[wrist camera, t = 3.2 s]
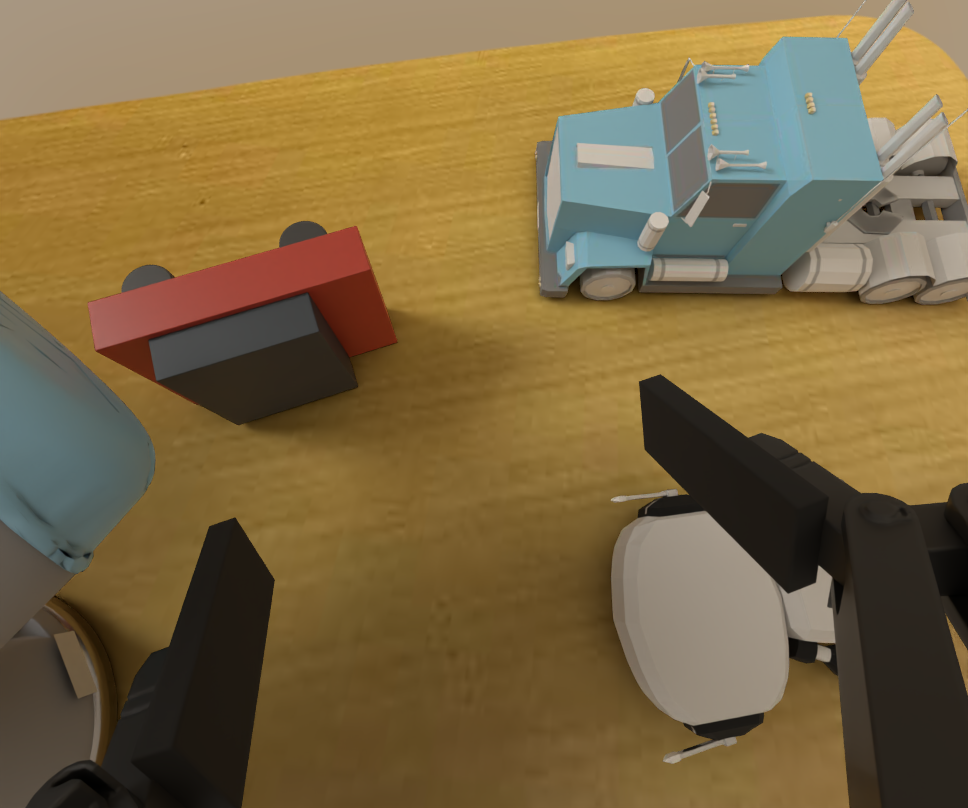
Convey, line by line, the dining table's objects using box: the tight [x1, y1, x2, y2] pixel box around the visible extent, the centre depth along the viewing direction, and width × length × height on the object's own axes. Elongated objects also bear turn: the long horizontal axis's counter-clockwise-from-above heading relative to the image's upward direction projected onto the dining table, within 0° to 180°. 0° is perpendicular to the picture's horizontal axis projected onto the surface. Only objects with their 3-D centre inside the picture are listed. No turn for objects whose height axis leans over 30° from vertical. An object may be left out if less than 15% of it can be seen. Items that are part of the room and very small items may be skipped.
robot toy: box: [611, 479, 844, 764], centre depth 27 cm, size 12×4×15 cm
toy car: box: [88, 221, 397, 425], centre depth 28 cm, size 13×6×9 cm, turn 109°
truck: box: [535, 0, 968, 304], centre depth 29 cm, size 12×29×15 cm, turn 90°
